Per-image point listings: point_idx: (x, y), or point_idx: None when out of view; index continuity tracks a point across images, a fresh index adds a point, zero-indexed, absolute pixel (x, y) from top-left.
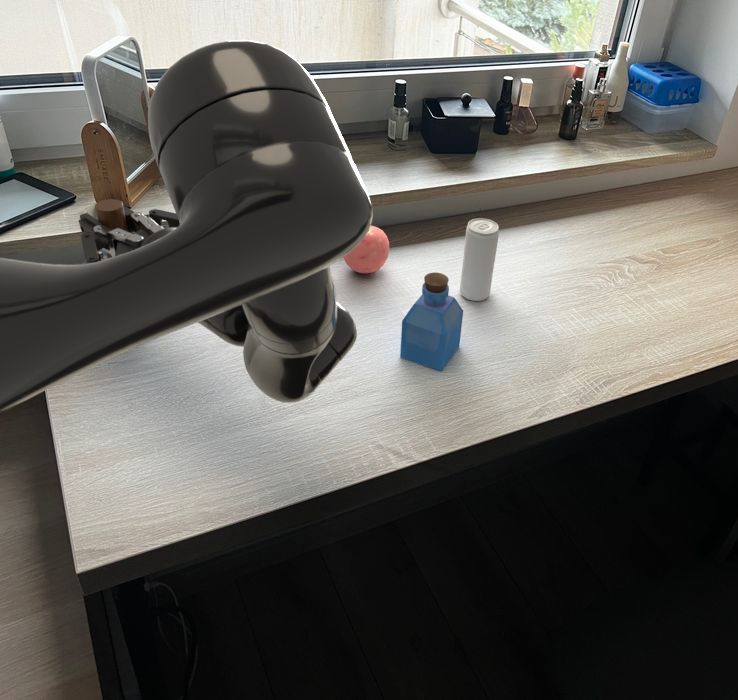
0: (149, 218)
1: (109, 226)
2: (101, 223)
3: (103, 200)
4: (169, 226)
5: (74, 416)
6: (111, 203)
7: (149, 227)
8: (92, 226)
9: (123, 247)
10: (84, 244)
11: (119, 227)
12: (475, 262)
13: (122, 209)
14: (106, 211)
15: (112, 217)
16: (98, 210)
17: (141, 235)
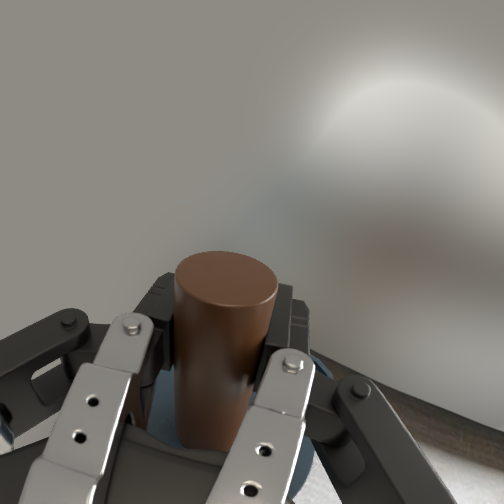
0: (295, 434)
1: (178, 341)
2: (165, 316)
3: (240, 255)
4: (357, 481)
5: None
6: (241, 275)
7: (223, 500)
8: (152, 307)
9: (26, 471)
10: (10, 339)
11: (205, 365)
12: None
13: (248, 318)
14: (181, 289)
15: (191, 322)
16: (175, 271)
17: (164, 492)
